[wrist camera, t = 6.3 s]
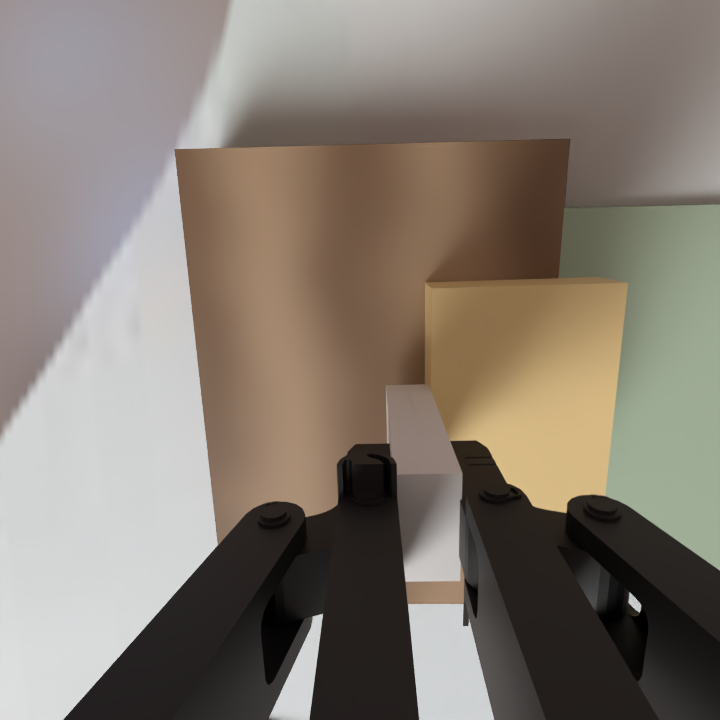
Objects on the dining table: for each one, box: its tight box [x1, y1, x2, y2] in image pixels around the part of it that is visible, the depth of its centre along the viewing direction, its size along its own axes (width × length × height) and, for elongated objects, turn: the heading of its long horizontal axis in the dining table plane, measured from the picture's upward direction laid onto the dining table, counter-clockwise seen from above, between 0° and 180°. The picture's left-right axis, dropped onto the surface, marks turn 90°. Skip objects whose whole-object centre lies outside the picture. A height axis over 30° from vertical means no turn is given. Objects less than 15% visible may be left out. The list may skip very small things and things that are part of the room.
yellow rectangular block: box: [425, 277, 628, 513], centre depth 17 cm, size 6×9×2 cm, turn 2°
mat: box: [559, 204, 720, 570], centre depth 22 cm, size 12×18×1 cm, turn 1°
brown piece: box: [175, 139, 570, 604], centre depth 20 cm, size 13×18×4 cm
